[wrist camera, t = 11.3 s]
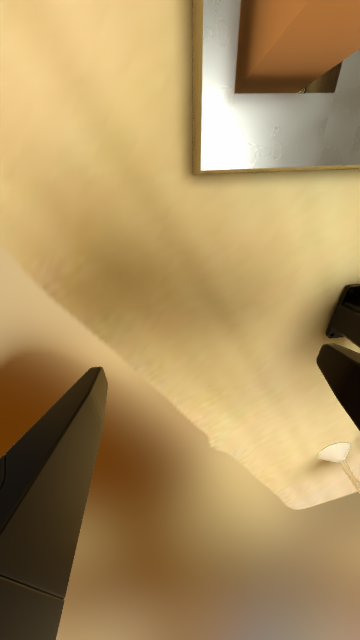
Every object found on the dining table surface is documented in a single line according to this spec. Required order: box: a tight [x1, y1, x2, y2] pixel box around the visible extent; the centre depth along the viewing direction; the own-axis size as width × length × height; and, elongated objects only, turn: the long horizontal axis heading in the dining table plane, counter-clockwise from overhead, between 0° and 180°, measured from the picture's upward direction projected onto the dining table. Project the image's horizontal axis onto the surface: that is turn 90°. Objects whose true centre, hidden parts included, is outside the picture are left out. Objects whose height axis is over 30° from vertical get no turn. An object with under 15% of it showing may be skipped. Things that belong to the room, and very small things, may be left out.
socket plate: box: [193, 0, 360, 174], centre depth 11 cm, size 14×12×3 cm
